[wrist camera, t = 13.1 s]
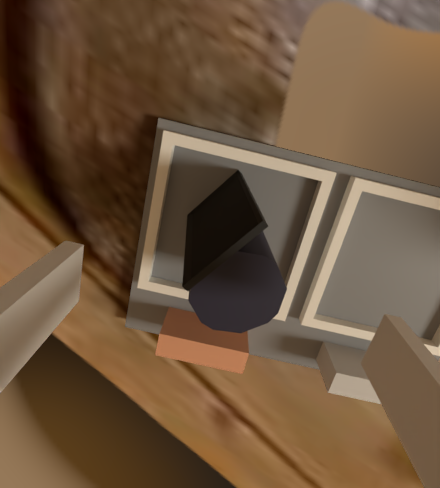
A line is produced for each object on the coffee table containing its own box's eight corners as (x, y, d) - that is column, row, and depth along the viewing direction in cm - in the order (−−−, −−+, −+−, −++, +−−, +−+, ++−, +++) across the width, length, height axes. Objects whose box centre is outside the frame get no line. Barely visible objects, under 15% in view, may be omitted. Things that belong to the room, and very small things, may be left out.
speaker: (169, 196, 25) (149, 254, 16) (240, 168, 25) (263, 211, 15) (207, 276, 28) (209, 366, 19) (271, 253, 28) (306, 333, 18)
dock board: (161, 118, 25) (144, 116, 20) (510, 204, 26) (575, 222, 21) (129, 319, 31) (109, 355, 26) (414, 382, 32) (446, 428, 27)
